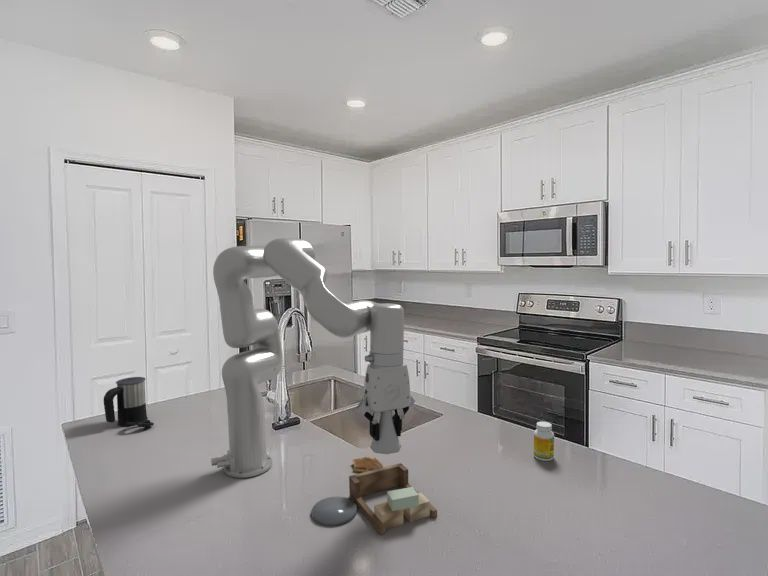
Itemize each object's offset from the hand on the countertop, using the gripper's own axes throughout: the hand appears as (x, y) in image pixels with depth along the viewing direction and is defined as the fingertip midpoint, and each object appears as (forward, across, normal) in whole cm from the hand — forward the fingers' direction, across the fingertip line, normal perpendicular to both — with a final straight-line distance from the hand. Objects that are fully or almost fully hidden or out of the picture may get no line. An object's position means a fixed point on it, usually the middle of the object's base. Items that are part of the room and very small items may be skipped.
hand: (385, 435), depth 103 cm
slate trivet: (+16, -12, +2) cm, 20 cm away
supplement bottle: (+15, +50, 0) cm, 52 cm away
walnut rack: (+16, +1, -2) cm, 16 cm away
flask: (+3, 0, 0) cm, 3 cm away
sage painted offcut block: (+13, 0, -8) cm, 15 cm away
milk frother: (+19, -54, +82) cm, 101 cm away
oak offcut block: (+16, -3, -7) cm, 18 cm away
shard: (+17, +5, +17) cm, 24 cm away
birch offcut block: (+16, +4, -7) cm, 18 cm away
